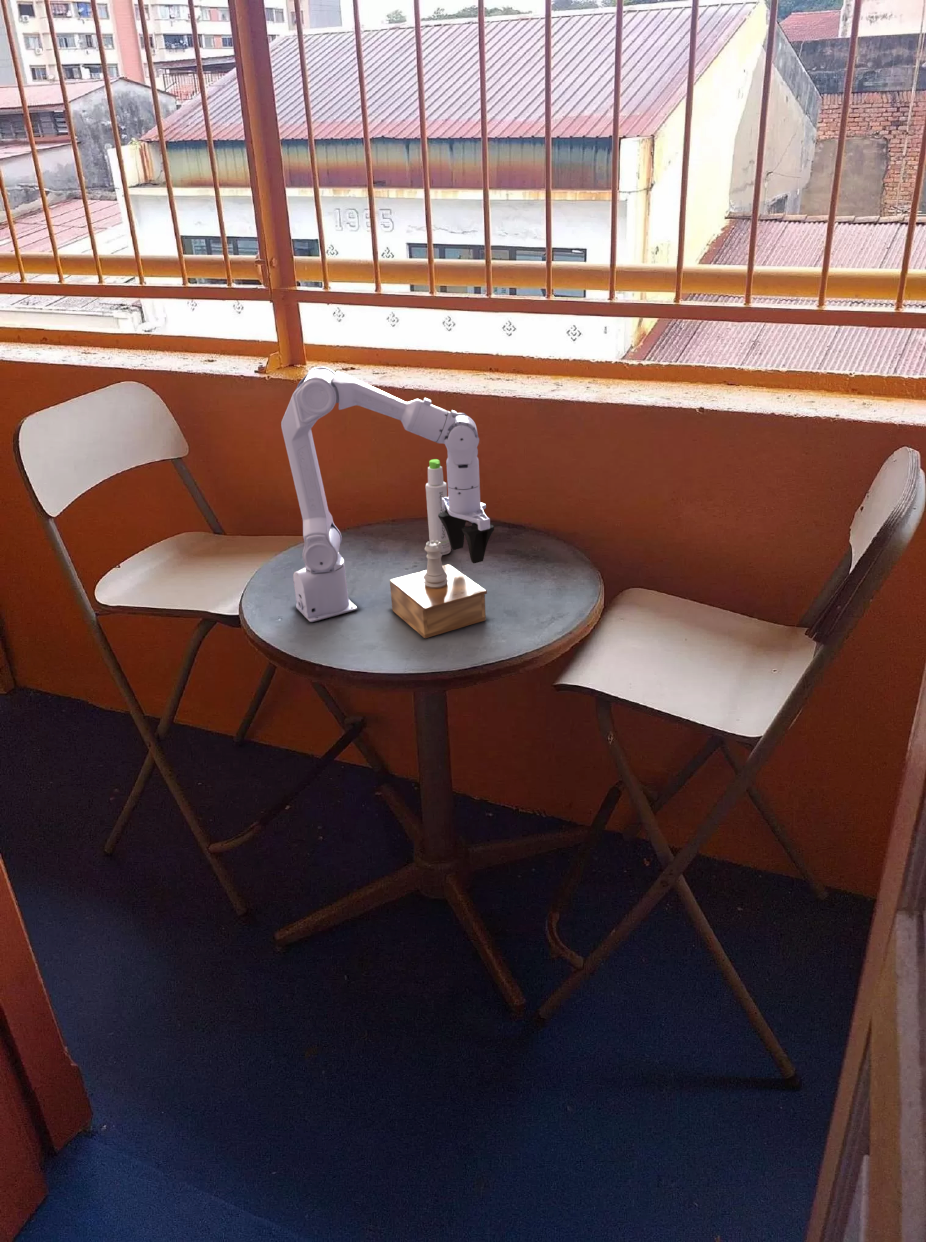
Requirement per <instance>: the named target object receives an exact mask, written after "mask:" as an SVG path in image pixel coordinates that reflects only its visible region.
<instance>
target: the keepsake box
mask: <svg viewBox="0 0 926 1242" xmlns="http://www.w3.org/2000/svg"><path fill="white" fill-rule="evenodd" d="M389 589H390V598H391V610H392V612H393V613H395V615H397V616H398V617H399V618H400V619H402V620H403V621H404V622H405V623H406V624H407V625H409V626H410V627H411V628H412V630H415V631H416V632H417V634H419V635H420V636H421V637H422V638H424V639H428V638H432V637H435V636H438V635H442V634H445V633H448V632H452V631H454V630H458V629H462V628H465V627H468V626H471V625H474V624H478V623H481V622H485V621H486V620H487V619H486V597H485V595H486V594H484V595H480V596H477V597H473V598H470V599H466V600H463V601H459V602H456V603H453V604H449V605H446V606H442V607H439V608H435V609H432V610H428V611H424V610H423V609H421V608H420V607H419V606H418V605H417V604H415V603H414V602H413V601H412V600H410V599H409V598H408V597H407V596H406V595H404V594H403V593H402V592H401V591H399V590H398V589H397V588H396V587H395V586H393V585H392V584H391V583H390V582H389Z"/></svg>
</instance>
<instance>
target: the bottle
mask: <svg viewBox="0 0 926 1242" xmlns="http://www.w3.org/2000/svg"><path fill="white" fill-rule="evenodd" d="M428 463H429V466H427V482H426V483H425V497H426V498H425V499H426V510H427V524H428V525H427V527H428V537H429V542H430V543H431V541H433V540H434V543H436V541H439V542H440V545H441V546H442V547H443V548H442V550H441V552H440V553H441V554H442V556H445V555H448V554H450V553H451V551H452V550H451V549H452V548H451V545H450V542H449V538H448V535H447V532H446V530H445V527H444V525H443V523H442V522H441V520H440V519H439V517H438V514H439V513H442V512H444V511H445V509H443V508H442V498H445V497H448V483H447V482H445V481H444V471H443V466H441V461H440V460H439V459H437V458H433V459H430V460H429V461H428Z"/></svg>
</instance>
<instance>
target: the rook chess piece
mask: <svg viewBox="0 0 926 1242" xmlns="http://www.w3.org/2000/svg"><path fill="white" fill-rule="evenodd" d="M442 548H443V547H442V546H441V545H440V542H439V541H436V543H434V540H433V541H431V543H430V540H429V541H427V542H426V543H425V547H424V551H425V552H426V553H427V554H426V556H425V557H426V559H427V564H426V565H427V566H426V569H425V570H426V573H425V575H424V584H425V586H427V587H428V588H433V589H437V588H442V587H444V586H446V584H447V583H448V579H447V574H446V573H445V571H444V569H443V567H442V566H443V564H442V563H443V562H442V557H443V555H442V554H441V553H440V552H441V550H442Z"/></svg>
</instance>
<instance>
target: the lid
mask: <svg viewBox="0 0 926 1242" xmlns="http://www.w3.org/2000/svg"><path fill="white" fill-rule="evenodd" d="M442 567H443V569H444V571H445V573H446V574H447V579H448V583H447V584H446V586H444V587H442V588H437V589H433V588H428V587H427V586H425V584H424V575H425V573H426V570H427V569H425V570H421V571H417V572H413V573H410V574H405V575H403V576H399V577H395V578H391V579H389V584H390V583H391V584H392V585H393V586H395V587H396V588H397V589H398V590H399V591H401V592H402V593H403V594H404V595H406V596H407V597H408V598H409V599H410V600H412V601H413V602H414V603H415V604H417V605H418V606H419V607H420V608H421V609H423V610H424V611H428V610H432V609H435V608H439V607H442V606H446V605H449V604H453V603H456V602H459V601H463V600H466V599H470V598H473V597H477V596H480V595H484V594H485V595H487V594H488V590H487V589H485V588H484V587H482V586H481V585H479V584H478V583H477V582H475V581H473V579H471V578H469V577H468V576H467V575H466V574H465V573H462V572H461V571H459V569H457V568H455V567H454V566H452V565H451V564H450V563H449V564H448V563H447V564H442Z"/></svg>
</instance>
